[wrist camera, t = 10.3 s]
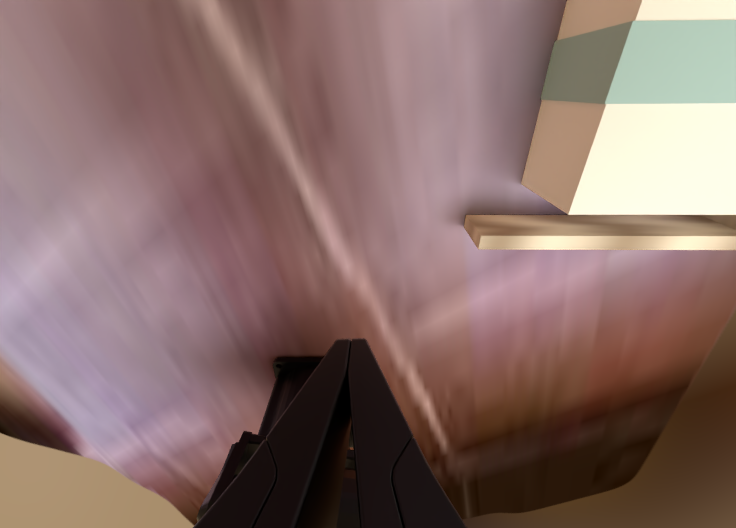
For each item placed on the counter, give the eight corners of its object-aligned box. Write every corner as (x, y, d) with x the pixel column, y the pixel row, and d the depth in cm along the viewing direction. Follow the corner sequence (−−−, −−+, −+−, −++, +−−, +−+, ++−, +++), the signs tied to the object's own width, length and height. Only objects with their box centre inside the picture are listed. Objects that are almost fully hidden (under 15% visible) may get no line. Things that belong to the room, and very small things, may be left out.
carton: (518, 183, 18) (566, 215, 13) (585, -91, 12) (706, -194, 8) (714, 183, 17) (828, 215, 13) (872, -96, 12) (1163, -202, 8)
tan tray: (463, 227, 19) (478, 249, 16) (537, -215, 11) (591, -314, 8) (705, 227, 19) (758, 250, 16) (976, -224, 10) (1178, -328, 8)
